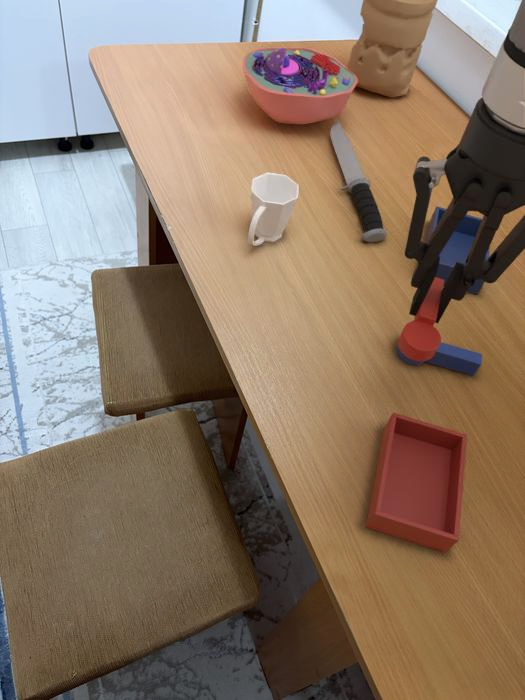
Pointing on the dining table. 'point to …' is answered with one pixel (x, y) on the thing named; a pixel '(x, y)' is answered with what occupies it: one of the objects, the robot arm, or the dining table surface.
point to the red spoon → (423, 327)
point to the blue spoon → (451, 359)
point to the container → (390, 44)
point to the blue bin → (456, 246)
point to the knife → (357, 185)
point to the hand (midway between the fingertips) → (425, 309)
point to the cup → (271, 206)
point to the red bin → (419, 483)
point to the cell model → (298, 83)
